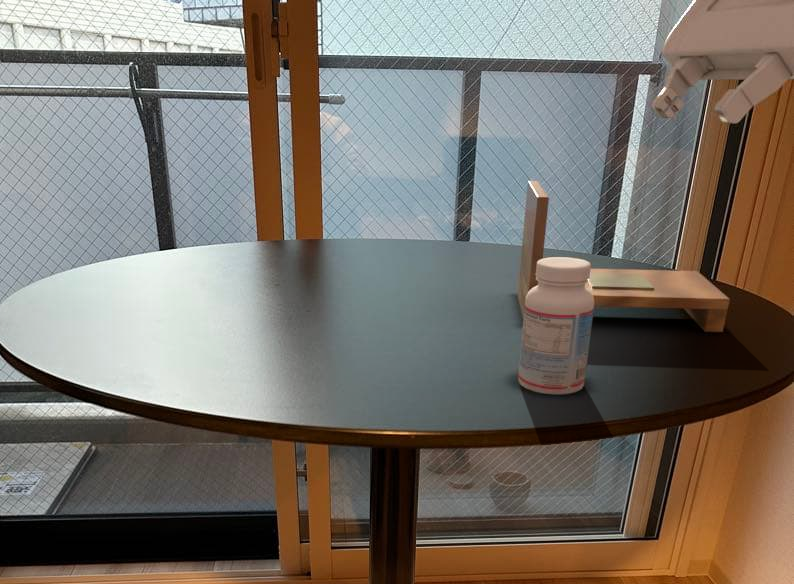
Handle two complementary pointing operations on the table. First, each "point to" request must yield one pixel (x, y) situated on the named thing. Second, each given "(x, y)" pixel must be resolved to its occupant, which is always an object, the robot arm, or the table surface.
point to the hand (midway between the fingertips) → (689, 115)
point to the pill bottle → (557, 327)
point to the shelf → (623, 277)
